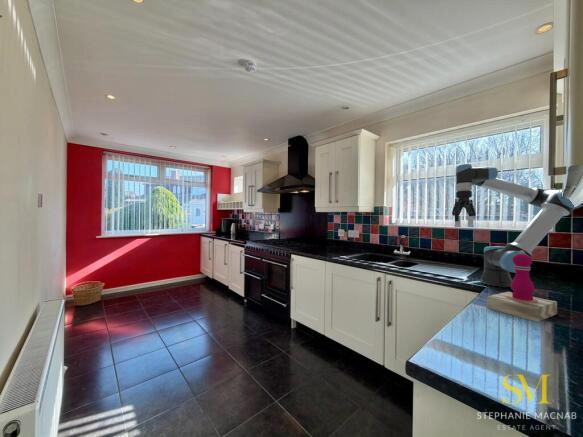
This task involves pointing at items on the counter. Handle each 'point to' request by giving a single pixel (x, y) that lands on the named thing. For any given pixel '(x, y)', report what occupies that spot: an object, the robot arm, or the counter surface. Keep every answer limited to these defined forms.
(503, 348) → the counter surface
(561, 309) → the counter surface
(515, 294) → the pepper mill
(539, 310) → the birch stand
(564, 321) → the counter surface
